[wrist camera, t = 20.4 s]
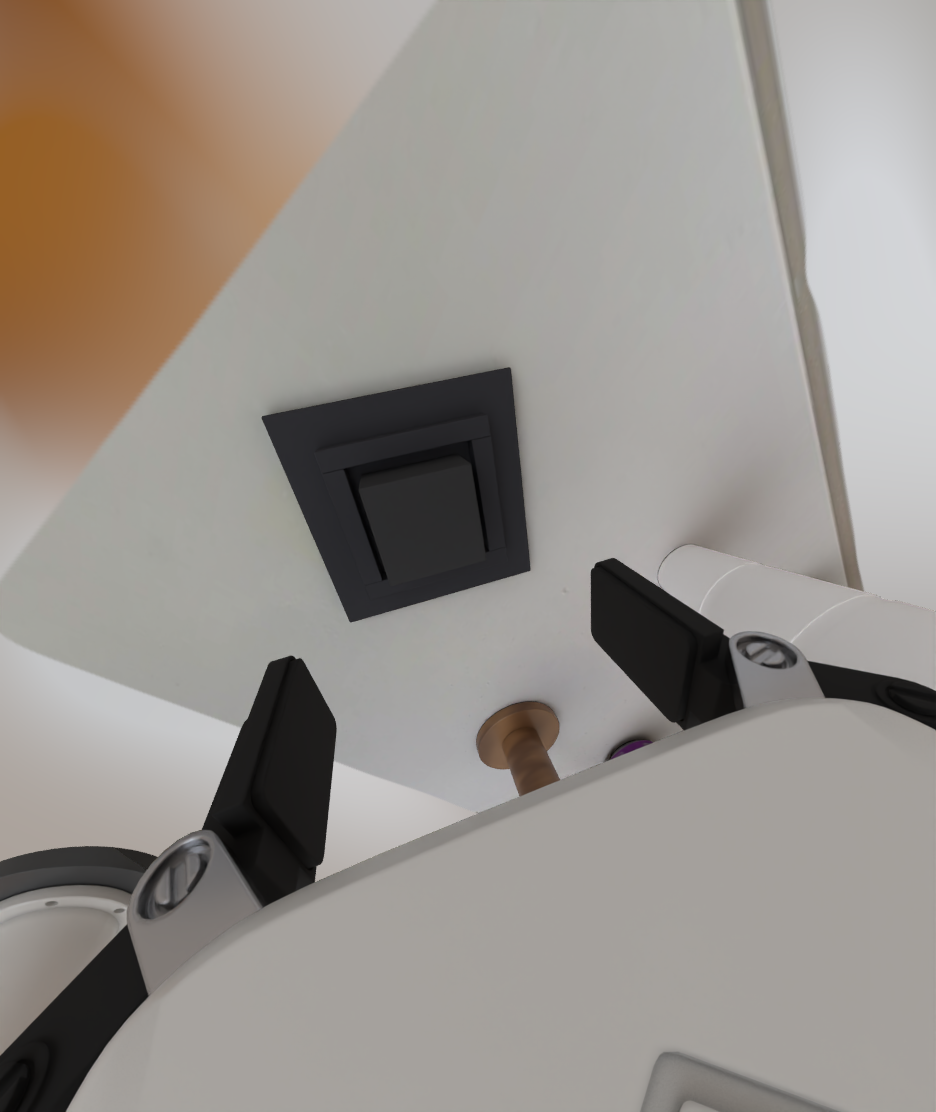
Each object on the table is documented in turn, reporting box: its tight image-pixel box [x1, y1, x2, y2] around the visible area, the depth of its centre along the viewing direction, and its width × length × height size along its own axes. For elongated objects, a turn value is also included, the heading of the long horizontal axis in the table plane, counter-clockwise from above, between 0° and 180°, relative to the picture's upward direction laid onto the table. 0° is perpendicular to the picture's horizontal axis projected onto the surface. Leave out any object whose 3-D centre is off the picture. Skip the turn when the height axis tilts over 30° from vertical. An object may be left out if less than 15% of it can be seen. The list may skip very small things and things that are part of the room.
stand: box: [476, 702, 560, 796], centre depth 29 cm, size 9×9×16 cm
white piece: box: [658, 544, 936, 691], centre depth 24 cm, size 11×11×18 cm
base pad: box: [262, 368, 530, 622], centre depth 22 cm, size 14×14×2 cm
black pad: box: [359, 453, 486, 586], centre depth 20 cm, size 6×6×4 cm
